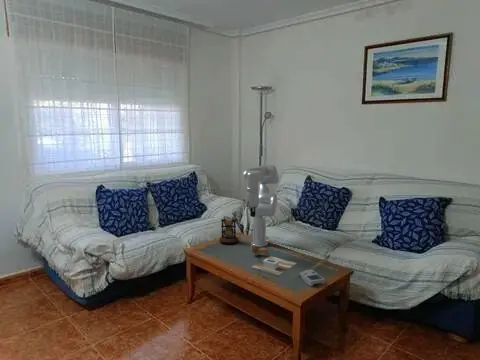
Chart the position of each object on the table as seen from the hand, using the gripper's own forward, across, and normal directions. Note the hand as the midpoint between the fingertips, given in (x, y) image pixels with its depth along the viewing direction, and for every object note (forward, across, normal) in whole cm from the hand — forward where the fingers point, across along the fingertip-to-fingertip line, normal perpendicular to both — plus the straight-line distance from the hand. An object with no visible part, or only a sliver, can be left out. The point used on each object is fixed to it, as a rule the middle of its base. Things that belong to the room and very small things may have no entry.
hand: (252, 216), depth 236 cm
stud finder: (+26, +14, +24) cm, 38 cm away
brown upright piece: (+27, -10, -30) cm, 42 cm away
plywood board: (+27, +10, +24) cm, 38 cm away
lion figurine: (+27, +2, +8) cm, 29 cm away
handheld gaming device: (+28, +14, +51) cm, 60 cm away
